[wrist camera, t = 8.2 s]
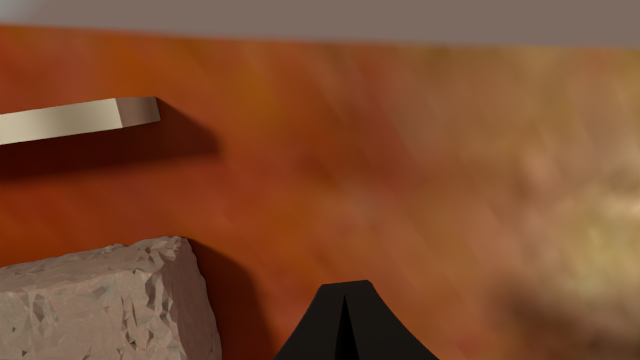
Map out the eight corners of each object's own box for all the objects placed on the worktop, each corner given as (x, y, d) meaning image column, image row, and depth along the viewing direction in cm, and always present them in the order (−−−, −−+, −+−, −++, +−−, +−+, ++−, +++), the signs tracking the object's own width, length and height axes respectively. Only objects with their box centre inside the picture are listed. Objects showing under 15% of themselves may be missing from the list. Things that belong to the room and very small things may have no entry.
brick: (-16, 391, 24) (-100, 464, 19) (-74, 274, 22) (-181, 323, 17) (233, 353, 22) (209, 421, 18) (196, 226, 20) (158, 265, 16)
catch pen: (155, 96, 18) (115, 98, 15) (238, 451, 24) (223, 511, 20) (-158, 141, 19) (-261, 152, 16) (-12, 470, 25) (-66, 531, 21)
